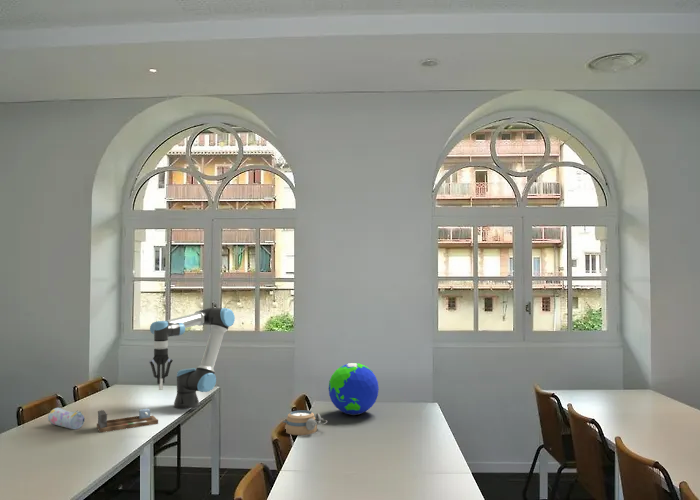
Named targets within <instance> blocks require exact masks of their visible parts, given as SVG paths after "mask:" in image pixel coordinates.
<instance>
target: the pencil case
mask: <svg viewBox="0 0 700 500" xmlns="http://www.w3.org/2000/svg"><path fill="white" fill-rule="evenodd" d="M47 420H48V422H49V423H50V425H53V426H59V427H62V428H66V429H70V430H78V429H80V428H81V427H82V426H84V424H85V420H86V419H85V416H84V414H83V412H81V411H78V410H76V411H68V410H66V409H63V408H61V407H55V408H53V409H52V410H50V411H49V414H48V416H47Z"/></svg>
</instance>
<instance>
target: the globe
mask: <svg viewBox="0 0 700 500" xmlns="http://www.w3.org/2000/svg"><path fill="white" fill-rule="evenodd" d="M328 395H329V397H330V401H331V403H332V404H333V405H334V407H335V408H336V409H338V410H339V411H340V412H343V413H344V414H346V415H350V416H356V415H360V414H363V413H366V412H368V411H369V410H370V409H371V408H372V407H373V406H374V404H375V403H376V401H377V399H378V396H379V381H378V379H377V376H376V375H375V373H374V372H373V370H371V369H370V368H369V367H368V366H366V365H364V364H361V363H356V362H351V363H350V362H348V363H346V364H343V365H340V366H339V367H338V368H337V369H336V370H335V371H334V372H333V373H332V374H331V377H330V379H329V382H328Z"/></svg>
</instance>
